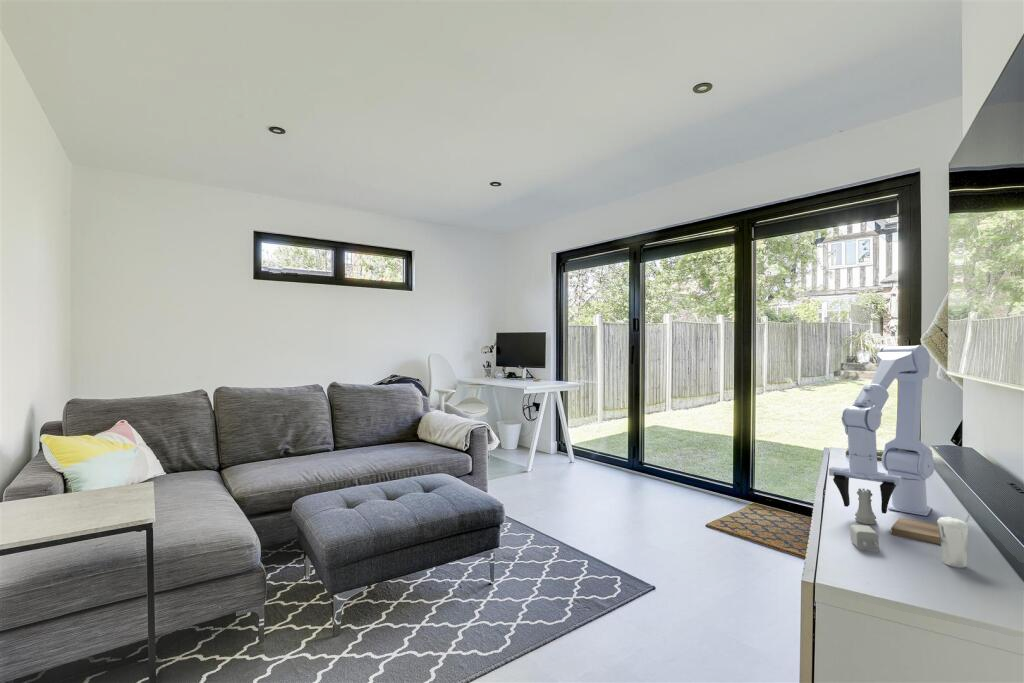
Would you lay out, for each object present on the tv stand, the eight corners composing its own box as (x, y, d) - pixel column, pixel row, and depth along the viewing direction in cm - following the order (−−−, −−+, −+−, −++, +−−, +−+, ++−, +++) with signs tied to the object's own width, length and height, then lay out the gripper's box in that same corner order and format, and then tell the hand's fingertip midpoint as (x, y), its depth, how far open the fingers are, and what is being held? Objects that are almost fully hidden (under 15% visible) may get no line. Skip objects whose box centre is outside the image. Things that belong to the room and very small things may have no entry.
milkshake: (981, 570, 91) (978, 518, 92) (949, 568, 92) (946, 516, 93) (964, 560, 96) (961, 510, 96) (933, 559, 97) (931, 509, 97)
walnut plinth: (899, 523, 117) (899, 517, 117) (954, 534, 110) (954, 527, 110) (891, 534, 110) (891, 527, 110) (949, 546, 103) (949, 539, 103)
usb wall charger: (872, 544, 105) (871, 526, 105) (884, 556, 98) (883, 537, 99) (850, 542, 106) (850, 524, 106) (860, 554, 100) (860, 535, 100)
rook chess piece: (850, 519, 121) (848, 487, 121) (866, 518, 121) (865, 487, 121) (864, 525, 116) (863, 492, 117) (881, 524, 117) (880, 491, 117)
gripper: (824, 452, 122) (826, 506, 121) (896, 461, 111) (899, 519, 111) (832, 449, 127) (834, 500, 126) (901, 456, 116) (904, 512, 116)
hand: (865, 508), depth 119 cm, fingers open, 7 cm apart
